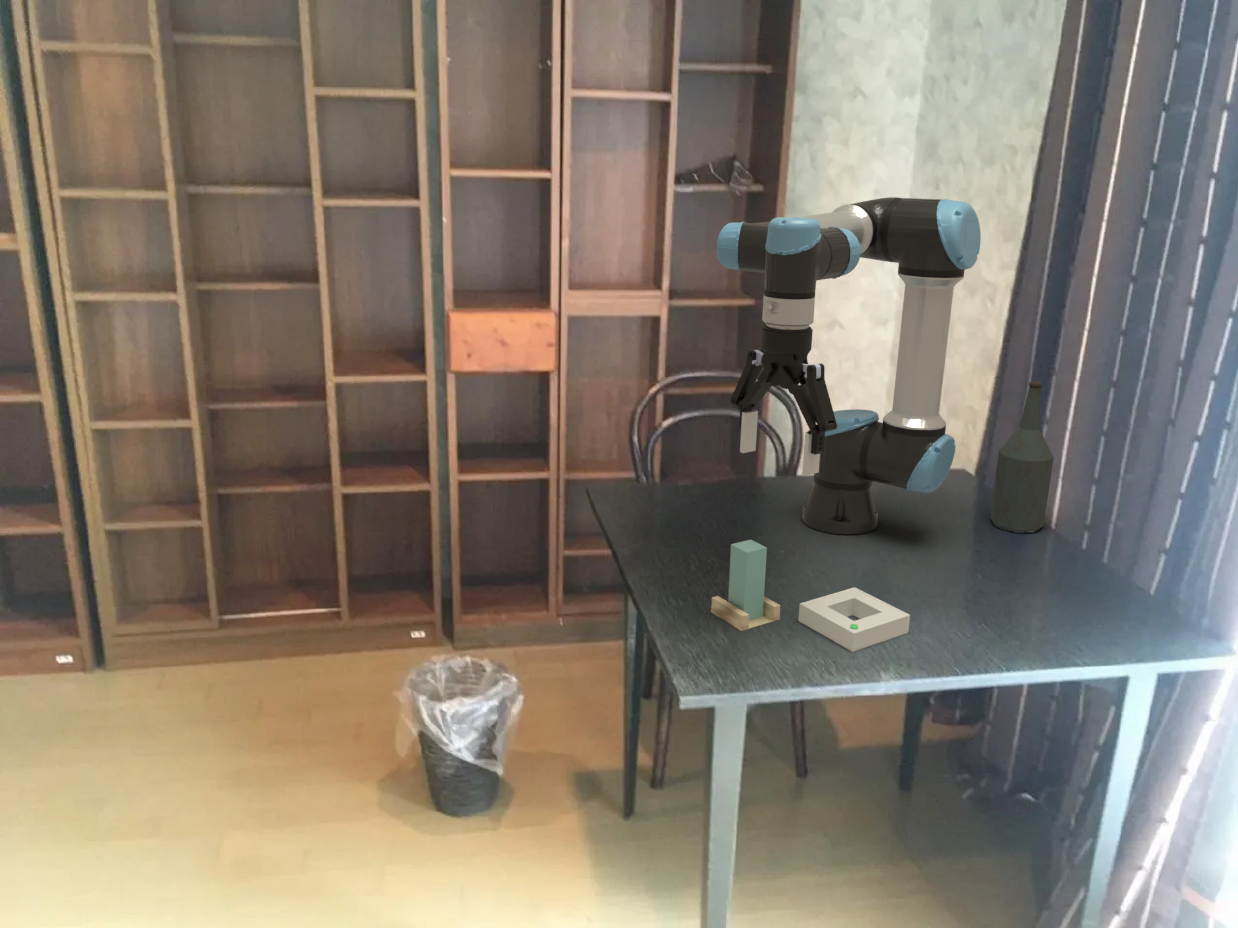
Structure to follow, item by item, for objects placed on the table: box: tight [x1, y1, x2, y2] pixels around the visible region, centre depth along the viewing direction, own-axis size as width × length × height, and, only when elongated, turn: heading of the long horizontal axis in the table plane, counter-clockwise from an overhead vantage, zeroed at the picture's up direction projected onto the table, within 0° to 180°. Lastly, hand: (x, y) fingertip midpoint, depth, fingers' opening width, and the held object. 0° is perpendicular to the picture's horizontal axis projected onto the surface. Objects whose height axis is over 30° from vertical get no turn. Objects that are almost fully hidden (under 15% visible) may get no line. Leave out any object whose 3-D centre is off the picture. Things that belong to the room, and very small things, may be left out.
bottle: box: [989, 381, 1054, 532], centre depth 205 cm, size 10×10×30 cm
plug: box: [727, 539, 768, 621], centre depth 163 cm, size 4×4×12 cm
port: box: [798, 587, 911, 653], centre depth 161 cm, size 12×12×5 cm
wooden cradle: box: [710, 595, 781, 632], centre depth 165 cm, size 8×8×4 cm
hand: (778, 462), depth 157 cm, fingers open, 13 cm apart
